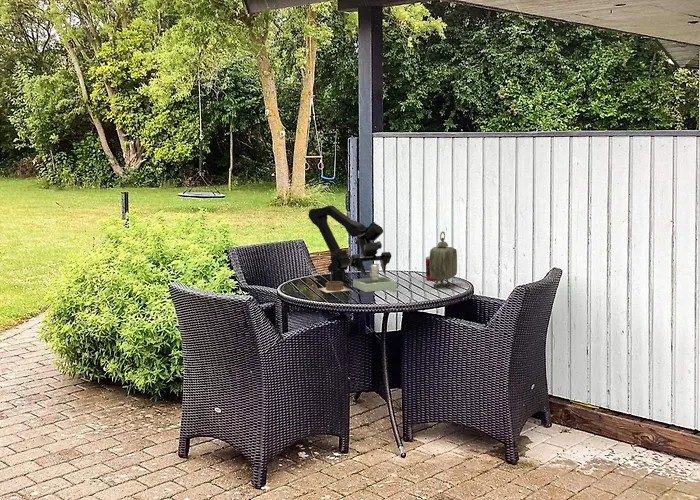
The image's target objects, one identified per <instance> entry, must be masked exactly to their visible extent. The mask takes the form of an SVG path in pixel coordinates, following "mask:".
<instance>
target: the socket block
mask: <svg viewBox="0 0 700 500" xmlns="http://www.w3.org/2000/svg"><path fill="white" fill-rule="evenodd" d="M318 289H319V290H320V291H322V292H324V293H326V294H327V293H334V292H335V293H337V292H346V291H352V289H350V288H348V287H346V286H344V281H343V282H341V281H331V282H330V281H327V282H325V287H319V288H318Z"/></svg>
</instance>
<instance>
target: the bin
mask: <svg viewBox="0 0 700 500" xmlns="http://www.w3.org/2000/svg"><path fill="white" fill-rule="evenodd" d="M369 282H370V277H366V278H356V279H352V285H353V286H352V287H353V288H354V289H357V290H359V291H362V292H365V293H369V292H379V291H390V292H393V293H394V292H398V289H397V282H398V281H396V280H394V279H391V278H389V277H388V278H387V277H385V276H379V282H380V283H372V284H369Z"/></svg>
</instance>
